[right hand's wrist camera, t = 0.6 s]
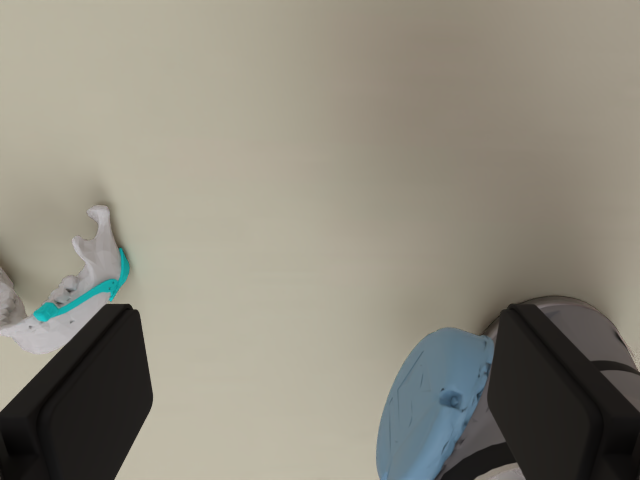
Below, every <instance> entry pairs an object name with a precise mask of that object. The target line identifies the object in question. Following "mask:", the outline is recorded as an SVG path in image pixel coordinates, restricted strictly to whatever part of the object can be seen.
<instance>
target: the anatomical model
mask: <svg viewBox="0 0 640 480" xmlns="http://www.w3.org/2000/svg"><path fill="white" fill-rule="evenodd" d="M87 214H88V216H89V217H91V218H92V219H93V220H95V221H96V222H97V223H98V231H97V234H96V236H95V238H94V239H92V240H86V239H82V237H80V236H79V235H78V236H75V237H73V239H72V244H73V247H74V249H75V251H76V252H77V254H78V255H79V256H80V257H81V258H82V259H83V260H84V261H85V263H86V264H85V266H84V268H83V269H82V270H81V271H80V273H79V274H78V275H77V276H76V277H75V276H73V275H68V276H66V277H65V278H63V279H62V282H61V283H60V284H59V288H57V289H55V290H53V291H52V293H51V294H50V296H49V297H48V299H49V300H46V301H44V302H43V303H42V306H41V307H40V308H38V309H37V310H36V311H35V312H34V313H33V314H31V315H30V316H27V314H26V312H25V307H24V304H23V302H22V300H21V299H20V297H19V296H18V295H17V293H16V292H15V291H14V288H13V282H12V281H11V280H10V278H9V277H8V276H7V274H6V273H5V272H4V270H3V269H2V268H1V267H0V335H1V336H6V337H12V338H13V340H14V341H15V342H16V343H17V344H18V345H19V346H20V347H21V348H22V349H23V350H25V351H28V352H30V353H33V354H44V353H49V352H51V351H54V350H56V349H58V348H60V347H62V346H63V345H65V344H67V343H68V342H69V341H70V340H71V339H72V338H73V337H74V336H75V335H76V334H77V333H78V332H79V331H80V329H81V328H82V327H83V326H84V325H85V324H86V323H87V322H88V321H89V320H90V319H91V318H92V317H93V316H94V315H95V314H96V313H97V312H98V311H99V310H100V309H101V308H102V307H103V306H104V305H105V304H107V302H108V300H110V301H112V300H113V298H114V297H115V295H116V293H117V291H118V290H119V288H120V287H121V286H122V285H123V283H124V282H125V281H126V279H127V277H128V274H129V269H130V267H129V262H128V261H127V259H126V257H125V254H124V252H123V250H122V248H119V249H118V247H117V244H116V242H115V239H114V236H113V233H112V230H111V224H110V211H109V208H108V207H107V206H105V205H94V206H93V207H91V208H90V209H88V210H87ZM56 302H57V303H56Z"/></svg>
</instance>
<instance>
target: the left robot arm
mask: <svg viewBox="0 0 640 480" xmlns="http://www.w3.org/2000/svg"><path fill="white" fill-rule="evenodd" d="M521 304H535V305H536V306H537V307H538V308H539V309H540V310H541V311H542V312H543V313H544V314H545V315H546V316H547V317H548V318H549V319H550V320H551V321H552V322H553V323H554V324H555V325H556V326H557V327H558V328H559V329H560V331H561V332H562V333H563V334H564V335H565V336H566V337H567V338H568V339H569V340H570V341H571V342H572V343H573V344H574V345H575V346H576V347H577V348H578V349H579V350H580V351H581V352H582V353H583V354H584V355H585V356H586V357H587V358H588V359H589V360H590V361H591V362H592V363H593V365H594V366H595V367H596V368H597V369H598V370H599V371H600V372H601V373H602V374H603V375H604V376H605V377H606V378H607V379H608V380H609V381H610V382H611V383H612V384H613V385H614V386H615V387H616V388H617V389H618V390H619V391H620V392H621V393H622V394H623V395H624V396H625V398H626V399H627V400H628V401H629V402H630V403H631V404H632V405H633V406H634V407H635V408H636V409H637V410H638V411H639V412H640V372H639V371H638V369H637V367H636V365H635V363H634V361H633V359H632V357H631V355H630V353H631V354H632V352H631V350H630V349H629V347H628V346H627V344H626V343H625V341H624V340H623V338H622V337H621V335H620V333H619V331H618V330H617V328H616V327H615V326H614V324H613V323H612V322H611V321H610V320H609V319H608V318H607V317H605V316H604V315H603V314H602V313H600V312H599V311H598V310H597V309H595V308H594V307H593V306H591V305H589V304H587V303H585V302H583V301H581V300H577V299H574V298H569V297H562V296H551V297H542V298H537V299H532V300H529V301H526V302H523V303H521ZM499 319H500V316H499V317H498V318H497V319H496V320H495V321H494V322H493V323H492V324H491V325H490V326H489V327H488V328H487V329H486V331H485V332H484V333H483V335H481V336H478V335H475V334H472V333H469V332H466V331H463V330H460V329H457V328H442V329H439V330H437V331H436V332H433V333H431V334H428V335H427V336H426V337H425V338H423V339H422V340H421V341H420V342H419V343H418V344H417V345H416V346H415V348H414V349H413V350H412V352H411V353H410V354H409V356H408V357H407V359H406V360H405V362H404V363H403V365H402V367H401V369H400V371H399V373H398V374H397V376H396V379H395V381H394V383H393V385H392V388H391V390H390V393H389V395H388V398H387V401H386V404H385V407H384V410H383V414H382V417H381V421H380V426H379V431H378V437H377V449H376V464H377V471H378V475H379V478H380V480H526V479H525V477H524V475H523V473H522V471H521V470H520V468H519V466H518V464H517V462H516V460H515V458H514V456H513V454H512V452H511V450H510V448H509V446H508V444H507V443H506V441H505V439H504V437H503V435H502V433H501V431H500V429H499V427H498V425H497V423H496V421H495V419H494V417H493V415H492V414H491V412H490V409H489V407H488V402H487V392H488V386H489V380H490V374H491V368H492V362H493V356H494V349H495V343H496V337H497V331H498V325H499ZM625 345H626V346H625ZM626 347H627V348H628V349H627V348H626ZM628 350H629V351H630V353H629V351H628ZM632 356H633V354H632ZM633 357H634V356H633Z"/></svg>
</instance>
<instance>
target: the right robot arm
mask: <svg viewBox="0 0 640 480" xmlns="http://www.w3.org/2000/svg"><path fill="white" fill-rule="evenodd" d="M152 402H153V392H152V386H151V380H150V374H149V368H148V362H147V356H146V349H145V343H144V337H143V331H142V325H141V319H140V314H139V312H138V310H133V308H132V306H131V305H130V304H105V305H104V306H103V307H102V308H101V309H100V310H99V311H98V312H97V313H96V314H95V315H94V316H93V317H92V318H91V319H90V320H89V321H88V322H87V323H86V324H85V325H84V326H83V327H82V328H81V329H80V331H79V332H78V333H77V334H76V335H75V336H74V337H73V338H72V339H71V340H70V341H69V342H68V343H67V344H66V345H65V346H64V347H63V348H62V349H61V350H60V351H59V352H58V353H57V354H56V355H55V356H54V357H53V358H52V359H51V360H50V361H49V362H48V363H47V365H46V366H45V367H44V368H43V369H42V370H41V371H40V372H39V373H38V374H37V375H36V376H35V377H34V378H33V379H32V380H31V381H30V382H29V383H28V384H27V385H26V386H25V387H24V388H23V389H22V390H21V391H20V392H19V393H18V394H17V395H16V396H15V398H14V399H13V400H12V401H11V402H10V403H9V404H8V405H7V406H6V407H5V408H4V409H3V410H2V411H1V412H0V480H114V479H115V477H116V475H117V473H118V471H119V470H120V468H121V466H122V464H123V462H124V460H125V458H126V456H127V454H128V452H129V450H130V448H131V446H132V444H133V443H134V441H135V439H136V437H137V435H138V433H139V431H140V429H141V427H142V425H143V423H144V421H145V419H146V417H147V415H148V414H149V412H150V409H151V407H152ZM487 402H488V407H489V409H490V412H491V414H492V415H493V417H494V419H495V421H496V423H497V425H498V427H499V429H500V431H501V433H502V435H503V437H504V439H505V441H506V443H507V444H508V446H509V448H510V450H511V452H512V454H513V456H514V458H515V460H516V462H517V464H518V466H519V468H520V470H521V471H522V473H523V475H524V477H525V479H526V480H640V412H639V411H638V410H637V409H636V408H635V407H634V406H633V405H632V404H631V403H630V402H629V401H628V400H627V399H626V398H625V396H624V395H623V394H622V393H621V392H620V391H619V390H618V389H617V388H616V387H615V386H614V385H613V384H612V383H611V382H610V381H609V380H608V379H607V378H606V377H605V376H604V375H603V374H602V373H601V372H600V371H599V370H598V369H597V368H596V367H595V366H594V365H593V363H592V362H591V361H590V360H589V359H588V358H587V357H586V356H585V355H584V354H583V353H582V352H581V351H580V350H579V349H578V348H577V347H576V346H575V345H574V344H573V343H572V342H571V341H570V340H569V339H568V338H567V337H566V336H565V335H564V334H563V333H562V332H561V331H560V329H559V328H558V327H557V326H556V325H555V324H554V323H553V322H552V321H551V320H550V319H549V318H548V317H547V316H546V315H545V314H544V313H543V312H542V311H541V310H540V309H539V308H538V307H537V306H536V305H535V304H510V305H509V306H508V308H507V310H502V312H501V314H500V319H499V325H498V331H497V337H496V343H495V349H494V356H493V362H492V368H491V374H490V380H489V386H488V392H487Z"/></svg>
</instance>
